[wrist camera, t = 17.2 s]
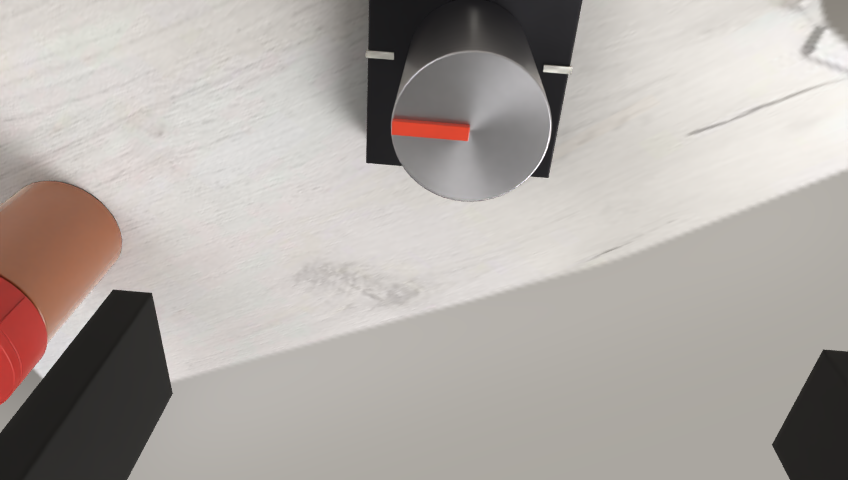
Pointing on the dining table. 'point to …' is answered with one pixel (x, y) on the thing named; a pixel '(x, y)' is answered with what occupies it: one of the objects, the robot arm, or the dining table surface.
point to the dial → (470, 104)
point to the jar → (56, 247)
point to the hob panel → (391, 37)
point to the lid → (18, 338)
